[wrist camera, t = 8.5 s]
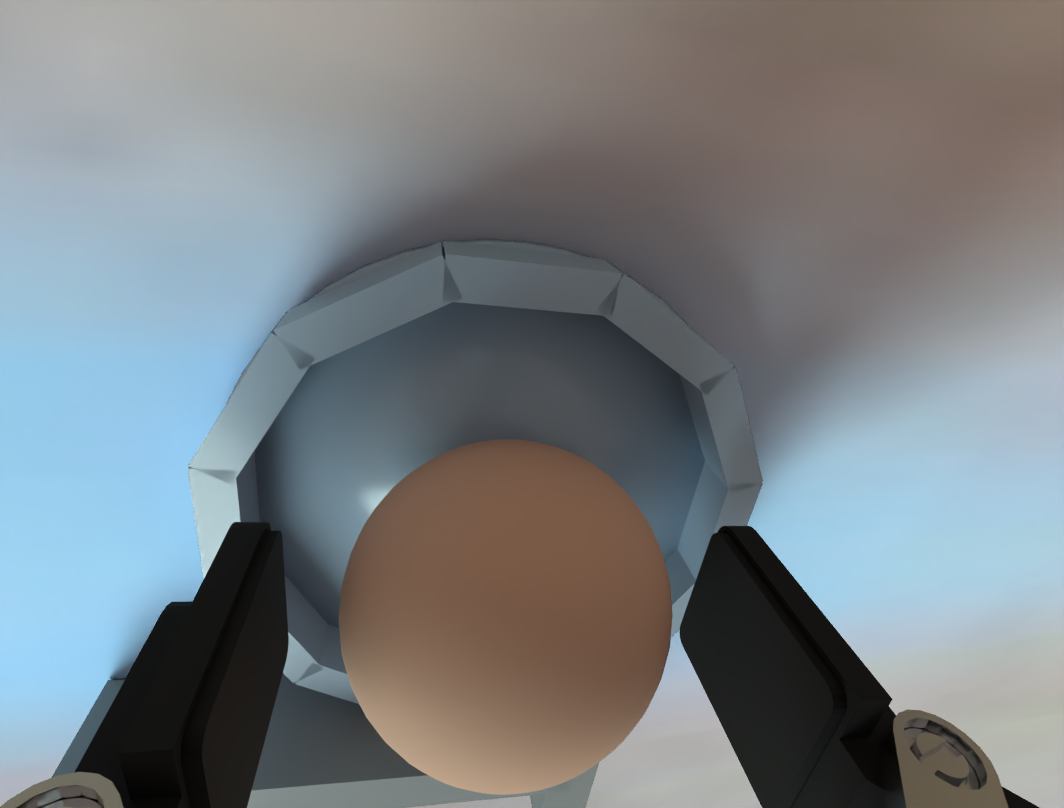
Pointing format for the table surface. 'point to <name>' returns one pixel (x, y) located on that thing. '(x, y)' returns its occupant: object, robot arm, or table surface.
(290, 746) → the gate arch
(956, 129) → the table surface
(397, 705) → the ball
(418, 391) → the dish
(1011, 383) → the table surface
